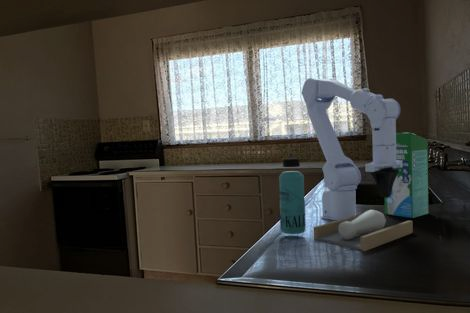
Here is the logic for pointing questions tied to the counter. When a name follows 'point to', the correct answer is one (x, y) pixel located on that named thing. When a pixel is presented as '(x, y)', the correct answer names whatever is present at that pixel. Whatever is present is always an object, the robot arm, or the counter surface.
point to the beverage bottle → (292, 199)
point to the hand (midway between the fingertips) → (385, 196)
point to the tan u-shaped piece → (361, 241)
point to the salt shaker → (362, 224)
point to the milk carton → (410, 178)
